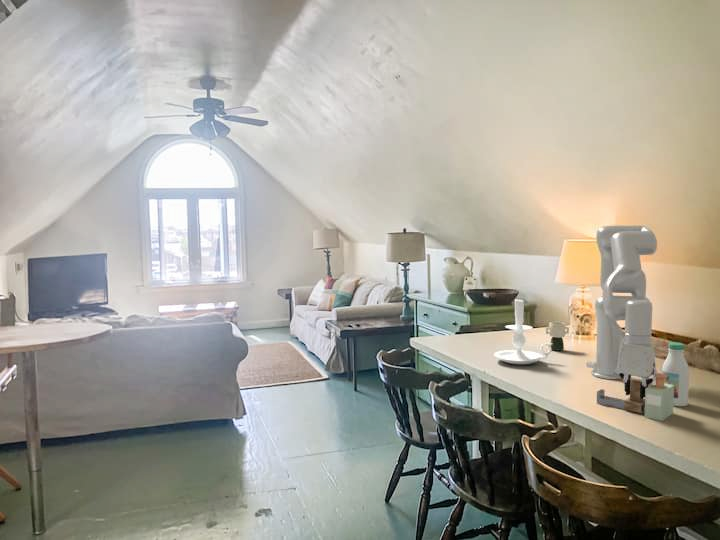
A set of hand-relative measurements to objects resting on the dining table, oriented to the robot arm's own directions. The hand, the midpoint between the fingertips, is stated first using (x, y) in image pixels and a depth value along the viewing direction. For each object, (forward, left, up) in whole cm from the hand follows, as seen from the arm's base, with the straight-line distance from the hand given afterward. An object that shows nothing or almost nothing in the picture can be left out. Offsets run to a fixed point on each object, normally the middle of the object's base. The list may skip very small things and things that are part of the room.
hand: (635, 395), depth 175 cm
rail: (-3, 0, -5) cm, 6 cm away
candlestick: (-57, +32, -5) cm, 66 cm away
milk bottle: (+7, +16, -5) cm, 18 cm away
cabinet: (+7, 0, -5) cm, 8 cm away
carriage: (0, 0, -5) cm, 5 cm away
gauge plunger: (+7, 0, +1) cm, 7 cm away
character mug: (-58, +65, -5) cm, 88 cm away
